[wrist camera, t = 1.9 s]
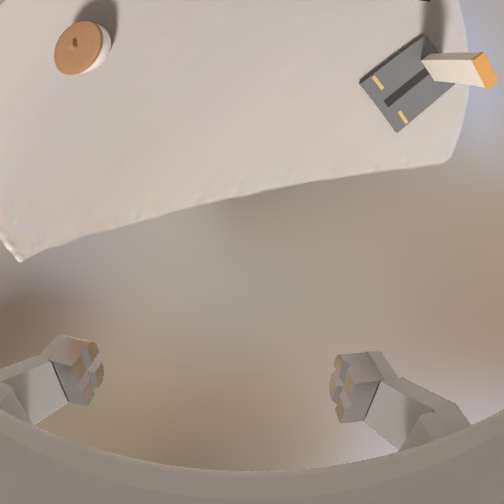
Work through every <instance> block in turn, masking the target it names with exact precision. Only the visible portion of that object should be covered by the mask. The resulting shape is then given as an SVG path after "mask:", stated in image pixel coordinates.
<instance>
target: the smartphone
mask: <svg viewBox="0 0 504 504" xmlns="http://www.w3.org/2000/svg"><path fill="white" fill-rule="evenodd" d="M413 1H420V2H426V3H429V2H430V0H413Z"/></svg>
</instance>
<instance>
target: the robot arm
mask: <svg viewBox="0 0 504 504" xmlns="http://www.w3.org/2000/svg"><path fill="white" fill-rule="evenodd" d="M98 353H99V351H98V347H97V344H96V343H95V342H93V341H89V340H84V339H79V338H75V337H70V336H65V335H58V336H57V337H56V338H55V339H54V340H53V341H52V342H51V343H50V345H48V346H47V348H45V350H44V351H43V352H42V353H41V354H40V355H39V356H38V357H35V356H34V357H31V358H29V359H26V360H23V361H21V362H18V363H15V364H13V365H10V366H7V367H5V368H2V369H0V504H504V409H503V410H502V411H500V412H498V413H496V414H494V415H492V416H491V417H488V418H487V419H484V420H482V421H480V422H478V423H476V424H474V425H471V424H470V423H469V421H468V420H467V418H466V417H465V416H464V415H463V413H462V411H461V410H460V409H459V407H458V406H457V405H456V403H453V402H451V401H449V400H447V399H445V398H443V397H441V396H439V395H437V394H435V393H433V392H430V391H429V390H427V389H424V388H423V387H421V386H418V385H416V384H414V383H413V382H411V381H408V380H407V379H405V378H398V376H397V375H396V373H395V372H394V370H393V369H392V367H391V366H390V364H389V363H388V361H387V360H386V358H385V357H384V356H383V354H382V352H381V351H379V350H377V351H369V352H364V353H353V354H339V355H337V357H336V359H335V363H334V365H335V368H336V371H335V372H334V373H333V374H332V375H331V379H330V395H331V398H332V400H333V401H334V402H335V403H337V406H336V413H337V416H338V419H339V421H340V423H348V422H357V421H364V422H365V423H366V424H367V425H369V426H370V427H371V428H372V429H373V430H375V431H376V432H377V433H378V434H380V435H381V436H382V437H383V438H384V439H386V440H387V441H388V442H390V443H391V444H392V445H393V446H395V447H396V448H397V449H398V450H399V451H398V452H396V453H392V454H389V455H385V456H381V457H376V458H372V459H367V460H362V461H357V462H352V463H346V464H341V465H334V466H327V467H319V468H310V469H299V470H286V471H256V472H255V471H250V472H249V471H244V472H243V471H219V470H206V469H195V468H186V467H178V466H172V465H164V464H159V463H153V462H148V461H142V460H138V459H134V458H129V457H125V456H121V455H116V454H113V453H109V452H105V451H102V450H98V449H95V448H92V447H89V446H86V445H83V444H80V443H76V442H73V441H71V440H68V439H66V438H63V437H60V436H58V435H55V434H52V433H50V432H48V431H45V430H43V429H41V428H38V427H36V426H34V425H35V424H37V423H38V422H39V421H41V420H43V419H44V418H46V417H47V416H49V415H50V414H52V413H54V412H55V411H57V410H58V409H59V408H61V407H63V406H64V405H65V404H67V403H68V402H72V403H76V404H80V405H84V406H88V405H89V404H90V402H91V400H92V398H93V397H94V395H95V394H94V390H93V389H95V388H97V387H99V386H100V385H101V383H102V381H103V375H104V369H103V365H102V362H101V360H100V359H99V358H98V357H97V354H98Z"/></svg>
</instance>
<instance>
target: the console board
mask: <svg viewBox="0 0 504 504" xmlns="http://www.w3.org/2000/svg"><path fill="white" fill-rule="evenodd" d="M429 54H438V52H437V51H436V49H435V48H434V46H433V45H432V43H431V42H430V40H429V39H428V38H427V36H426V35H423V36H422V37H420V38H419V39H418V40H416V41H415V42H413V43H412V44H411V45H409V46H408V47H407V48H405V49H404V50H402V51H401V52H400V53H398V54H397V55H396V56H394V57H393V58H392V59H390V60H389V61H388V62H387V63H385V64H384V65H383V66H381V67H380V68H379V69H377V70H376V71H375V72H374V73H372V74H371V75H370V76H368V77H367V78H366V79H365V80H363V81H362V82H361V83H360V85H361V87H362V88H363V89H364V90H365V91H366V93H367V94H368V95H369V96H370V98H371V99H372V100H373V102H374V103H375V104H376V106H377V107H378V108H379V110H380V111H381V112H382V114H383V115H384V116H385V118H386V119H387V121H388V122H389V123H390V125H391V126H392V128H393V129H394V131H395V132H397V133H398V132H399V131H400V130H401V129H403V128H404V127H405V126H406V125H407V124H408V123H410V122H411V121H412V120H413V119H414V118H416V117H417V116H418V115H419V114H420V113H421V112H423V111H424V110H425V109H426V108H427V107H429V106H430V105H431V104H432V103H433V102H434V101H436V100H437V99H438V98H439V97H440V96H441V95H443V94H444V93H445V92H446V91H447V90H449V89H450V88H451V87H452V86H453V85H454V84H456V83H450V82H440V81H434V80H433V78H432V77H431V75H430V74H429V72H428V71H427V69H426V68H425V66H424V65H423V63H422V62H421V60H422V59H423V58H425V57H426V56H427V55H429Z"/></svg>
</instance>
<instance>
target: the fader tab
mask: <svg viewBox="0 0 504 504" xmlns="http://www.w3.org/2000/svg"><path fill="white" fill-rule="evenodd" d="M421 62H422V63H423V65H424V66H425V68H426V69H427V71H428V72H429V74H430V75H431V77H432V78H433V80H434V81H440V82H450V83H459V84H466V85H474V86H480V87H485V88H486V89H490V88H491V87H492V86H493V85H494V84H495V83H496V82H497V81H498V79H497V77H496V74H495V72H494V70H493V68H492V66H491V64H490V62H489V60H488V59H487V57H486V55H485V53H484V52H480V53H439V54H429V55H427V56H426V57H425V58H423V59H422V60H421Z"/></svg>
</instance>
